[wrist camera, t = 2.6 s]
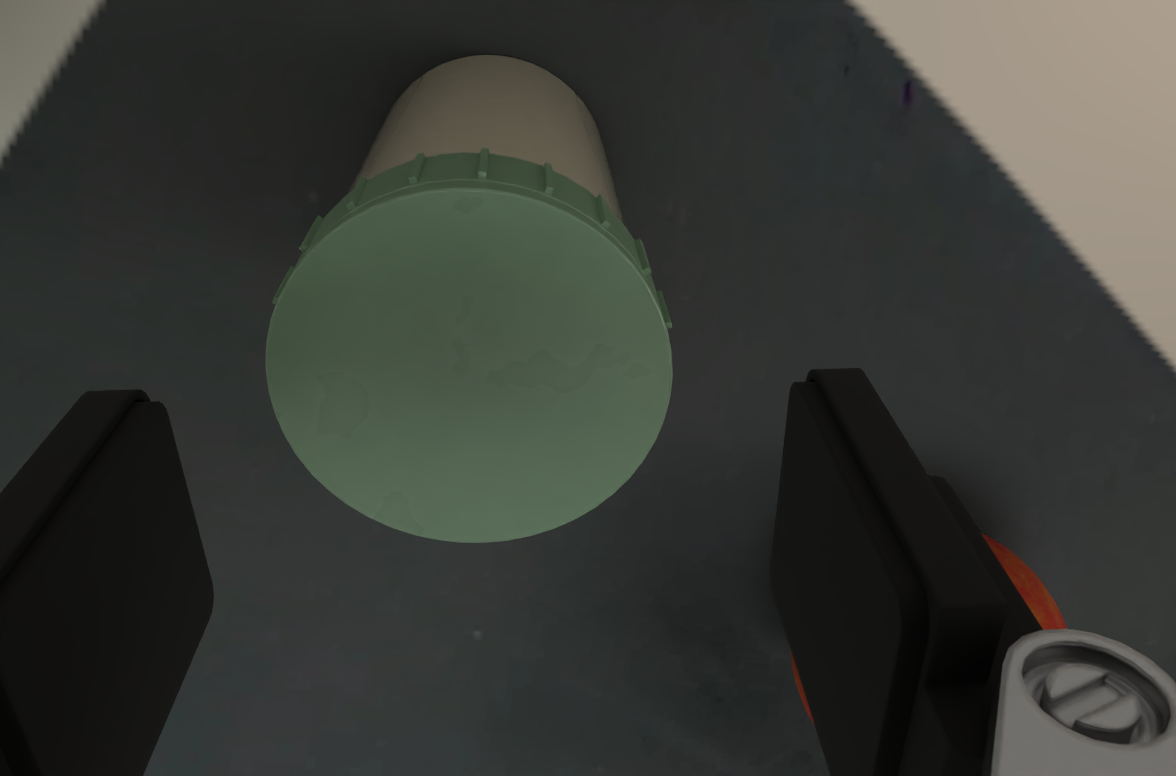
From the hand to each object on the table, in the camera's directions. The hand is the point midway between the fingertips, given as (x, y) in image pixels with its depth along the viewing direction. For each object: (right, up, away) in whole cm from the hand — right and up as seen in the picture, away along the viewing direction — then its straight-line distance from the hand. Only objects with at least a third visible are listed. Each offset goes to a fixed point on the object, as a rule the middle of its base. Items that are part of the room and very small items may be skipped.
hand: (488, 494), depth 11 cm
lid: (0, +1, +3) cm, 3 cm away
